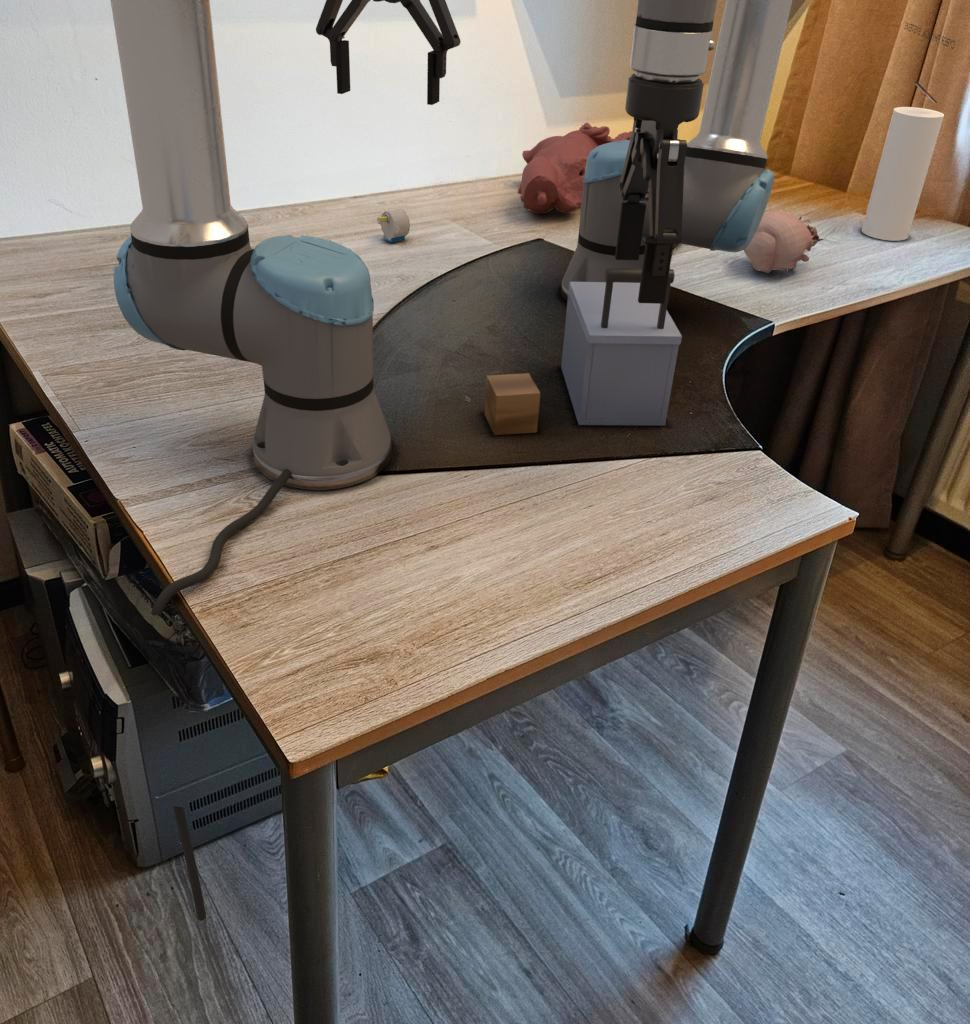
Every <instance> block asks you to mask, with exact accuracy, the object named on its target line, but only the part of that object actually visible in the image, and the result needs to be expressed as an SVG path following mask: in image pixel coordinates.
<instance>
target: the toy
mask: <svg viewBox="0 0 970 1024" xmlns="http://www.w3.org/2000/svg"><path fill="white" fill-rule="evenodd" d="M811 224H812V223H811V220H809V219H808V218H806V216H803V215H802V216H800V217H797V216H796V215H794V214H792V213H791V212H787V211H782V210H770V211H768V212H764V214H763V217H762V219H761V222H760V224H759V226H758V229H757V231H756V233H755V235H754V237H753V239H752V240H751V242H750V244H749V245H748V246H747V247H746V248H745V249H744V250H743V252H744V253H745V256H746V257H747V259H748V261H749V263H750V265H751V267H753V268H754V269H755V270H756V271H758V272H764V273H765V274H766V273H767V274H768V273H771V272H772V271H785V272H788V269H790V271H794V270H795V269H796V268H797V266H798V265H797V264H798V262H800V261H802V262H804V263H807V262H809V261H810V257H809V256H808V255H806V253H808V252H810V251H811V249H812V248H813V247H815V246H816V245H817V244H818V243H819V242H821V241H823V240H824V239H825V238H820V236H819V233H818V229H817V227H816V226H815V225H814V226H812V225H811Z"/></svg>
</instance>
